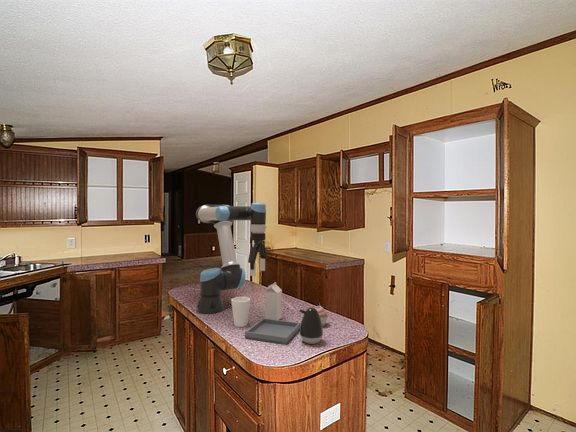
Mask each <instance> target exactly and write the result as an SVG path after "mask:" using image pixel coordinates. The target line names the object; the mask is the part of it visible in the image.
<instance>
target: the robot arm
mask: <svg viewBox="0 0 576 432" xmlns="http://www.w3.org/2000/svg"><path fill="white" fill-rule="evenodd" d="M195 216H196V218H197V220H198V221H199V222H202V223H205V224H213V227H214V228H215V229H216V232H217V238H218V243H219V250H220V257H221V262H222V265H221V268H219V267H212V268H207V269H204V270H202V271H201V272H200V276H199V299H198V302H197V305H196V306H197V307H196V311H197V313H199V314H204V315H205V314H206V315H207V314H208V315H210V314H217V313H220V312H223V311H224V308H225V306H224V302H223V299H222V295H221V294H222V291H226V290H227V291H228V290H233V289H234V290H235V289H240V288H242V287H243V286H244V284H245V282H246V271H245V269H244V268H242V267H241V265H240V263H239V262H238V261H237V255H236V250H235V243H234V239H233V233H232V225H233V223H234V221H251V222H250V232H251V233H250V240H251V241H253V242H251V243H250V250H249V255H248V261H247V262H248V263H249V276H250V277H256V275H257V274H256V273H257V267H256V266H257V264H256V260H257V257H258V254H259V256H260V258H259V271H260V272H265V271H266V259H268V254H267V248H266V233H265V232H266V228H267V226H266V225H267V224H266V223H267V221H266V220H267V205H266V203H265V202H252V203H251V206H250V205H249V206H248V205H247V206H246V205H245V206H241V205H240V206H239V205H237V206H235V205H229V204H203V205H201V206H199V207H198V208H197V210H196V212H195Z"/></svg>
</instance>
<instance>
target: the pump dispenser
mask: <svg viewBox="0 0 576 432" xmlns="http://www.w3.org/2000/svg"><path fill="white" fill-rule="evenodd" d="M315 308H316V307H313V306H311V307H308V308H307V309H306V310H303V309H300V310H299V312H300V313H302V314H303V316H302V317H301V318H302V319H301V322H300V330H299V335H300V337H301V340H302V341H303V342H305V343H306V344H308V345H315V344H317V343H320V341H322V338H323V335H324V329H323V327H324V326H322V322H321V318H320V316H319V313H318V311H317V310H316V309H315Z"/></svg>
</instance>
